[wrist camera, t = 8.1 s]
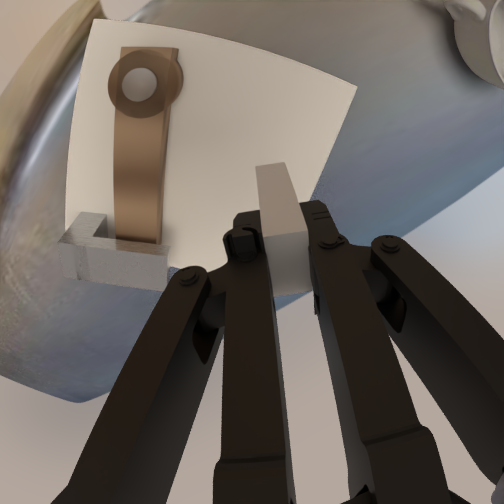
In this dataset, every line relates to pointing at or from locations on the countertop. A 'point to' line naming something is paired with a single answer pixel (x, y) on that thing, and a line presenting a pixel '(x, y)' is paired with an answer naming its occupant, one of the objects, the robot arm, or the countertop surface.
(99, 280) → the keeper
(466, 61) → the teacup
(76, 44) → the countertop surface
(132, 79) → the latch
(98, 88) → the base board
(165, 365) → the robot arm
